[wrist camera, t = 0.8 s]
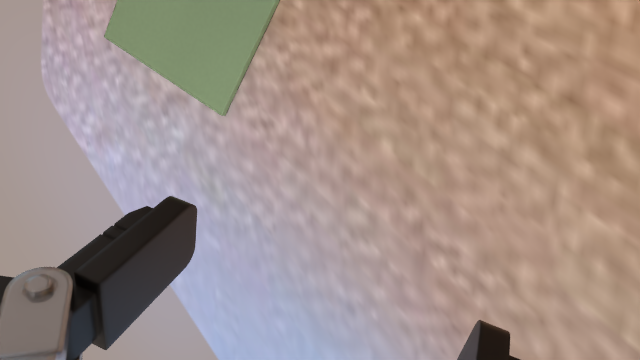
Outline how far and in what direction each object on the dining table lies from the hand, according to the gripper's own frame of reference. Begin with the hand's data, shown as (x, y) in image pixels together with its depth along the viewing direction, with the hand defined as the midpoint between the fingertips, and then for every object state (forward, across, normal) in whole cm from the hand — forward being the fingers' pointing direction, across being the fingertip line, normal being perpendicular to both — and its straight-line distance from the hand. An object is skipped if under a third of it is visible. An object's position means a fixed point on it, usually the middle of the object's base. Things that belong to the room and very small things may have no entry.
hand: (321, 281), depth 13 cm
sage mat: (+26, +21, +3) cm, 34 cm away
